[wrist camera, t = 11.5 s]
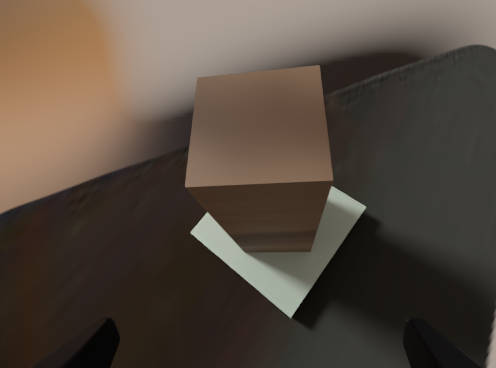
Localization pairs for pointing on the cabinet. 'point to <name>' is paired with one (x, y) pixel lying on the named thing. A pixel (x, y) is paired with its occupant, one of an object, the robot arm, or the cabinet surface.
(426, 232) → the cabinet surface
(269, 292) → the sage board
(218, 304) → the cabinet surface
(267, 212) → the walnut block
